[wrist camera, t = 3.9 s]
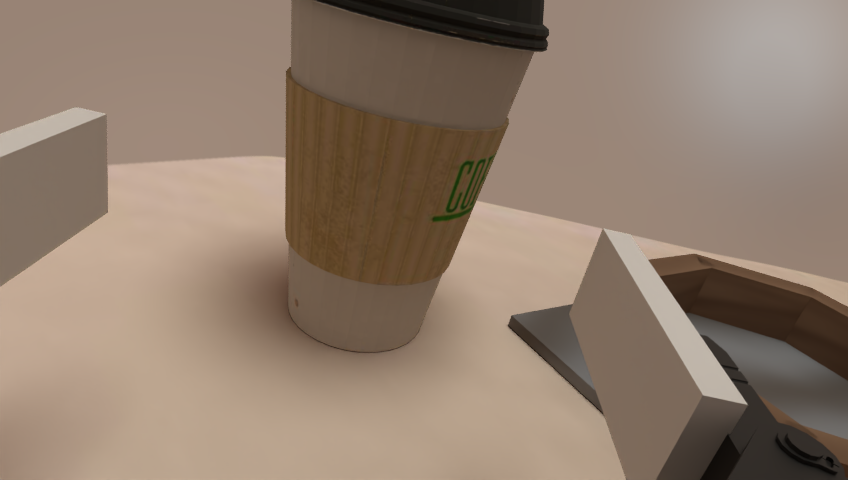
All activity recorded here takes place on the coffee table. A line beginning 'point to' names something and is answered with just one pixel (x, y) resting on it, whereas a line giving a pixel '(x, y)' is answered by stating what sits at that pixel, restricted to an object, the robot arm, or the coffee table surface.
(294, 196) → the coffee cup
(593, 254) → the robot arm
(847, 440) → the cup collar
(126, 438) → the coffee table surface
